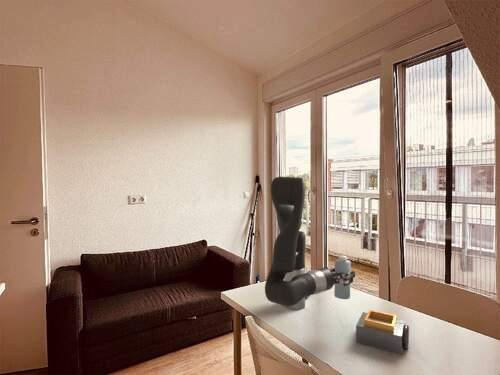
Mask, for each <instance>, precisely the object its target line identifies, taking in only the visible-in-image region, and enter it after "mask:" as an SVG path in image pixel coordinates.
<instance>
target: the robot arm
mask: <svg viewBox="0 0 500 375" xmlns="http://www.w3.org/2000/svg"><path fill="white" fill-rule="evenodd" d="M306 189H307V188H306V182H305V179H304V178H302V177H297V176H296V177H295V176H294V177H293V176H276V177H274V178H273V179H272V181H271V184H270V197H271V201H272V205H273V206H274V209H275V213H276V221H277V226H278V230H279V233H278V235H277V237H276V238H275V241H274V243H273V251H272V252H273V254H272V264H271V267H270V270H269V272H268V275H267V278H266V281H265V285H264V294H265V297H266V299H267V300H268V301H269V302H270V303H273V304H277V305H280V306H283V307H285V308H286V309H289V310H295V311H297V310H302V309H304V308H305V307H306V299H305V297H307V296H309V297H310V296H314V295H319V294H320V293H324V292H327V291H329V290H331V289H333V288H334V287H335V284H338V283H344V286H348V285H349V284H350V285H351V284H353V283H354V278H356V272H355V271H354V270H351V272H348V273H343V272H335V267H334V268H332V267H328V266H325V267H319V268H315V269H312V270H308V271H306V242H307V241H306V240H307V239H306V234H305V231H303V230H301V227H302V225H303V224H302V223H303V222H302V218H303V213H304V212H303V211H304V207H305V200H306ZM300 230H301V231H300ZM340 275H341V279H340ZM345 275H346V277H344V276H345Z"/></svg>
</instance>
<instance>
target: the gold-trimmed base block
mask: <svg viewBox="0 0 500 375" xmlns="http://www.w3.org/2000/svg"><path fill="white" fill-rule="evenodd" d="M397 317H398V316H397V315H396V314H391V313H387V312H382V311H378V310H377V311H376V310H372V309H369V310H368V311H367V312H366V311H365V312H364V311H363V312H362V313H361V315H360V317H359V319H358V320H357V323H356V324H355V343H356V344H360V345H363V346H366V347H370V348H375V349H378V350H381V351H386V352H389V353H392V354H396V355H400V356H402V354H403V351H404V350H403V349H404V348H405V349H409V345H410V326H409V325H407V324H406V321H405V320H401V319H398V318H397Z"/></svg>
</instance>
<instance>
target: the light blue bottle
mask: <svg viewBox="0 0 500 375" xmlns="http://www.w3.org/2000/svg"><path fill="white" fill-rule="evenodd" d="M337 258H338V259H334V268H335V272H343V273H348V272H351V271H352V270H351V266H352V265H351V264H352V261H351V260H348V256H346V255H338V256H337ZM344 277H346V275H345V276H344ZM340 279H341V275H340ZM333 288H334V292H333V293H334V297H335V298H336V299H339V300H349V299H350V298H351V284H349V285H348V286H344V283H338V284H334V287H333Z"/></svg>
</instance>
